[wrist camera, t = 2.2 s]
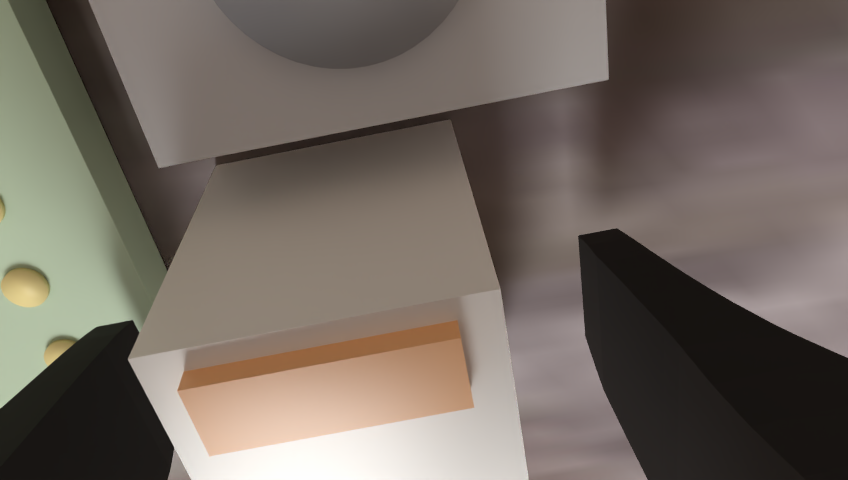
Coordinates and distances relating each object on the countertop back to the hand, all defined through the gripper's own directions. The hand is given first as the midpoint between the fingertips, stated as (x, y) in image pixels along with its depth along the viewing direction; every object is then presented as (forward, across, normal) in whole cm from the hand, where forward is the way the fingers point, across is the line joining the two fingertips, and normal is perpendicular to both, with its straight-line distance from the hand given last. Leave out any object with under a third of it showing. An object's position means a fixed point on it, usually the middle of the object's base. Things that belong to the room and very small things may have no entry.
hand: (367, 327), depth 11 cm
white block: (+2, 0, 0) cm, 2 cm away
